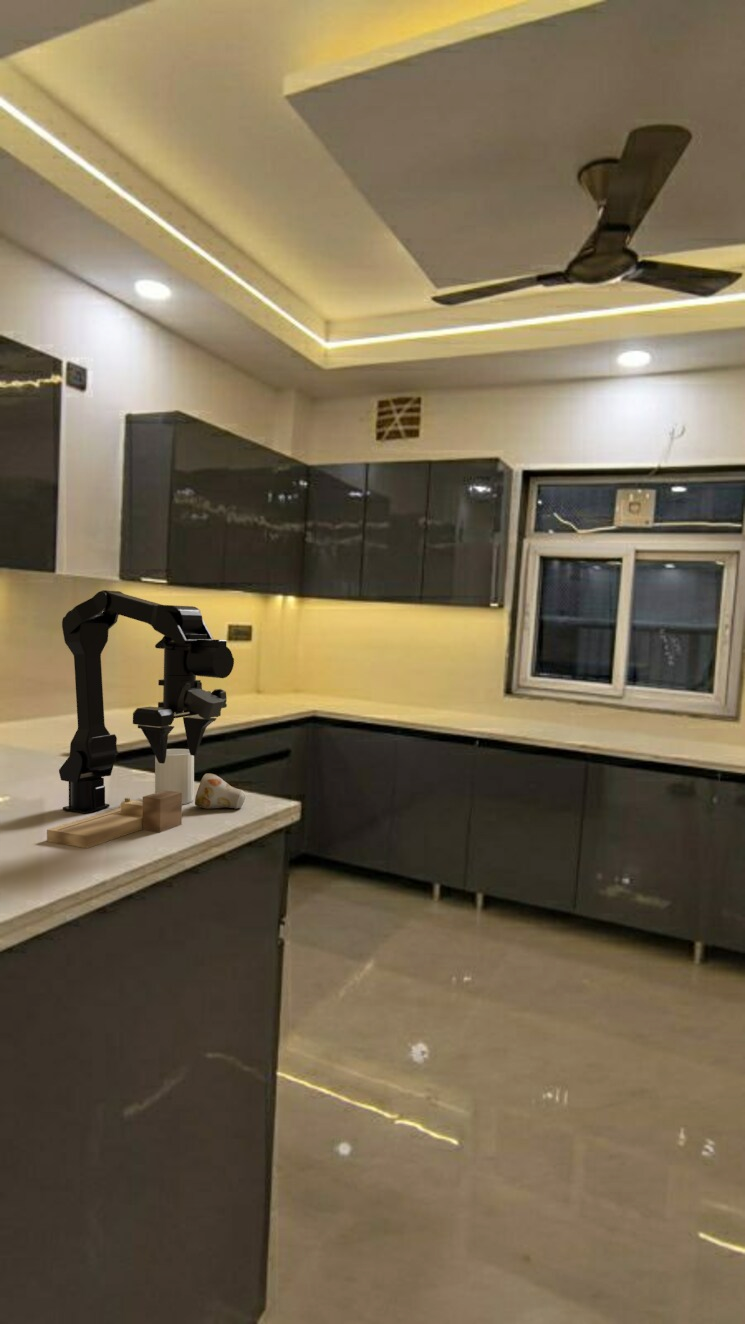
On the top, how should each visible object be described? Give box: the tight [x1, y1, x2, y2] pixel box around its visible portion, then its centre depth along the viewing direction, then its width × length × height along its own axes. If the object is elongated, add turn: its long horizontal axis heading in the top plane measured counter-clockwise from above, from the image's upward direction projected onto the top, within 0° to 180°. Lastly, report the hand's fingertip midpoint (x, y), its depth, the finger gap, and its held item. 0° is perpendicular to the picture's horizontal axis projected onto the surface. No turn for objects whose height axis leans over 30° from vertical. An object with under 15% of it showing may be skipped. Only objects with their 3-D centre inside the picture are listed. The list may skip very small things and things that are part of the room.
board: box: [46, 807, 143, 849], centre depth 135 cm, size 9×22×2 cm, turn 156°
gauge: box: [120, 790, 183, 833], centre depth 138 cm, size 11×6×6 cm, turn 66°
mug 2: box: [154, 748, 195, 806], centre depth 159 cm, size 12×8×10 cm, turn 12°
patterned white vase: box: [194, 773, 246, 810], centre depth 152 cm, size 8×10×10 cm
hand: (177, 759), depth 137 cm, fingers open, 9 cm apart
